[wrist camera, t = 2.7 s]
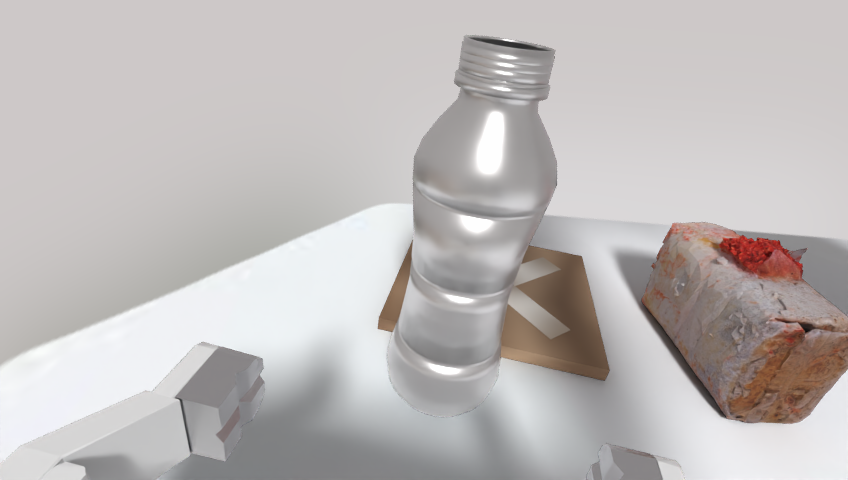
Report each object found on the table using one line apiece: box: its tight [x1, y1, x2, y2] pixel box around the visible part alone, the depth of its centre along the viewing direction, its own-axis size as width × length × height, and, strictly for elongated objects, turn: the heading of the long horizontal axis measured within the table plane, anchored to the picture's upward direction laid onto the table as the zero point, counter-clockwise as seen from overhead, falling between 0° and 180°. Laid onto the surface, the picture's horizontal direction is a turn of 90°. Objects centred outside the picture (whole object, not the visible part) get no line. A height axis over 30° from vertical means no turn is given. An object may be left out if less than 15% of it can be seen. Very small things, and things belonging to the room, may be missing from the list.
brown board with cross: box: [378, 240, 609, 381], centre depth 37 cm, size 16×15×1 cm
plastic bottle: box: [387, 35, 557, 417], centre depth 23 cm, size 6×7×20 cm
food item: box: [641, 222, 848, 424], centre depth 32 cm, size 14×8×10 cm, turn 1°
